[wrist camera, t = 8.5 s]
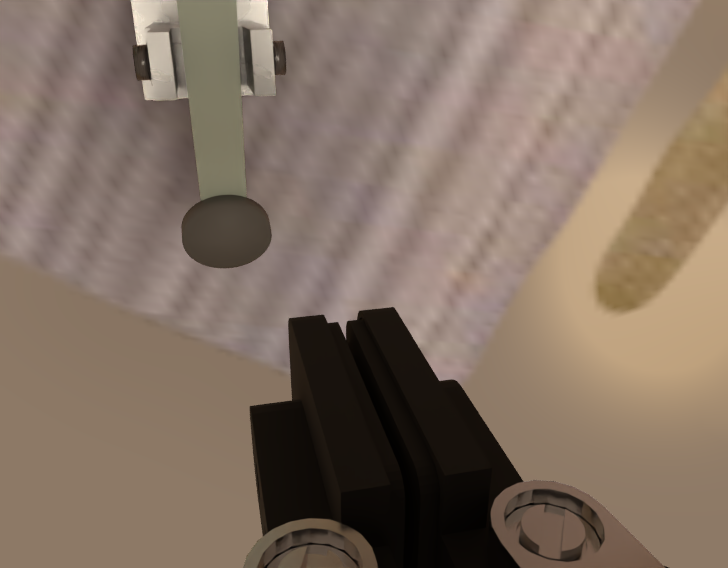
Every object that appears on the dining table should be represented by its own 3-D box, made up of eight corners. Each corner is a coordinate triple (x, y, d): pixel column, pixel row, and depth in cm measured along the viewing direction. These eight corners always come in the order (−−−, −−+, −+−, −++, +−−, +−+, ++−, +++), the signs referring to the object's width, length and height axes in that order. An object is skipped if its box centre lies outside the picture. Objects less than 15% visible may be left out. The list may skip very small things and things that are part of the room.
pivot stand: (131, -8, 26) (103, -12, 18) (265, -10, 27) (301, -14, 19) (145, 98, 28) (126, 142, 19) (271, 92, 29) (308, 131, 20)
